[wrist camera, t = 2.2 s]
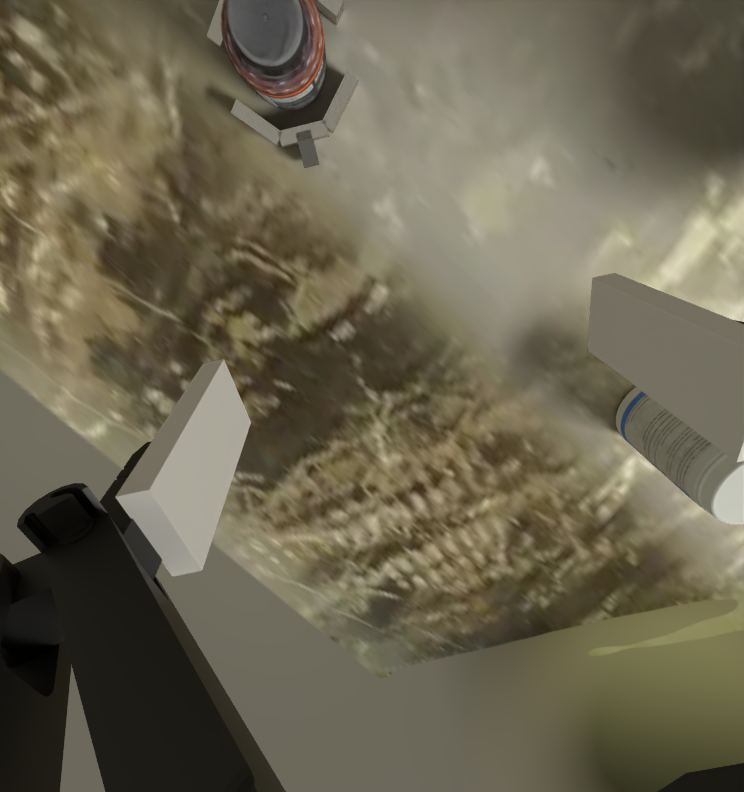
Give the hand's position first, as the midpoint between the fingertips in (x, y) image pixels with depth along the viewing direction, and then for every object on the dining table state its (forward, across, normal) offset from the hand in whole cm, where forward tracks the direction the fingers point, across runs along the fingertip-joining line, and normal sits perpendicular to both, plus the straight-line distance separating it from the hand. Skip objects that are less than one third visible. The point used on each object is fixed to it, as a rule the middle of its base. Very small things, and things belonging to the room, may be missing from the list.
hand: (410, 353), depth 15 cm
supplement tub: (+26, -30, +26) cm, 48 cm away
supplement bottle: (+27, +3, -13) cm, 30 cm away
